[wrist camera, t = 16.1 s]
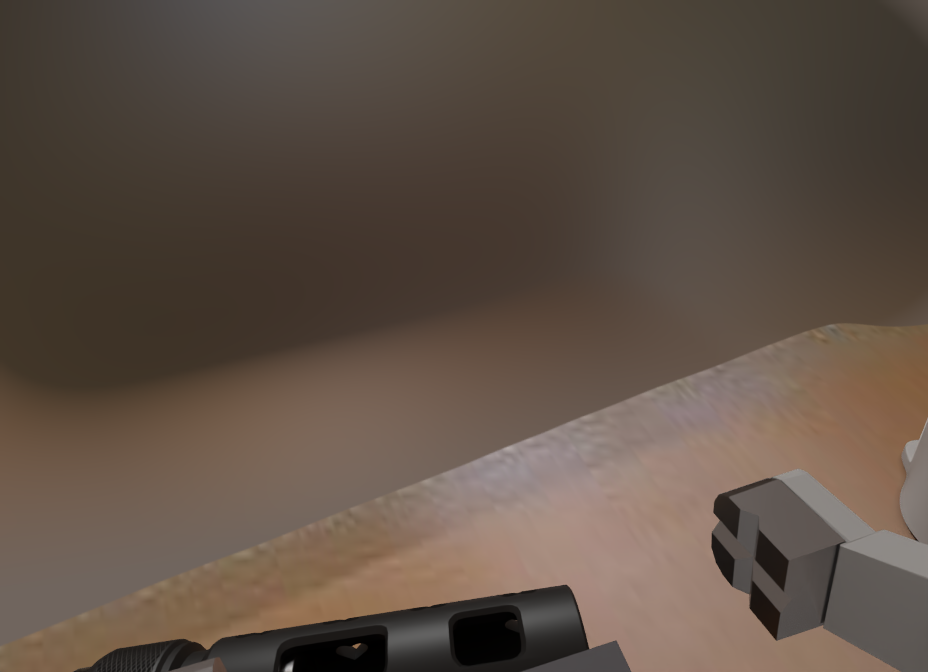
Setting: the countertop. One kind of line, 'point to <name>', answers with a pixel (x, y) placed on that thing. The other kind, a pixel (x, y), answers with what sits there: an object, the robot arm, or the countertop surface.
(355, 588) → the countertop surface
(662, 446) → the countertop surface
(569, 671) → the charger
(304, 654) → the muzzle brake
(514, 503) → the countertop surface
